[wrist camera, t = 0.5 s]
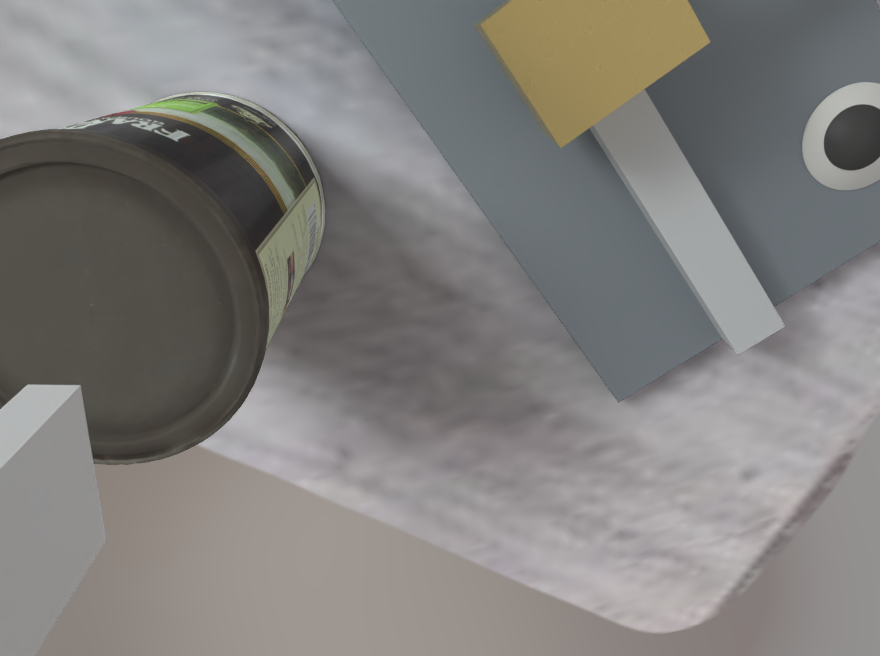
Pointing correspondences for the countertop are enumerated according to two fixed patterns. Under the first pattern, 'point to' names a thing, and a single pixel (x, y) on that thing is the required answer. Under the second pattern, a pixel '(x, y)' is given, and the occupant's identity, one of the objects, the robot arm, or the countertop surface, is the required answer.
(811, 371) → the countertop surface
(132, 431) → the coffee can
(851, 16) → the gauge board
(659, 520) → the countertop surface
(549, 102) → the pointer
